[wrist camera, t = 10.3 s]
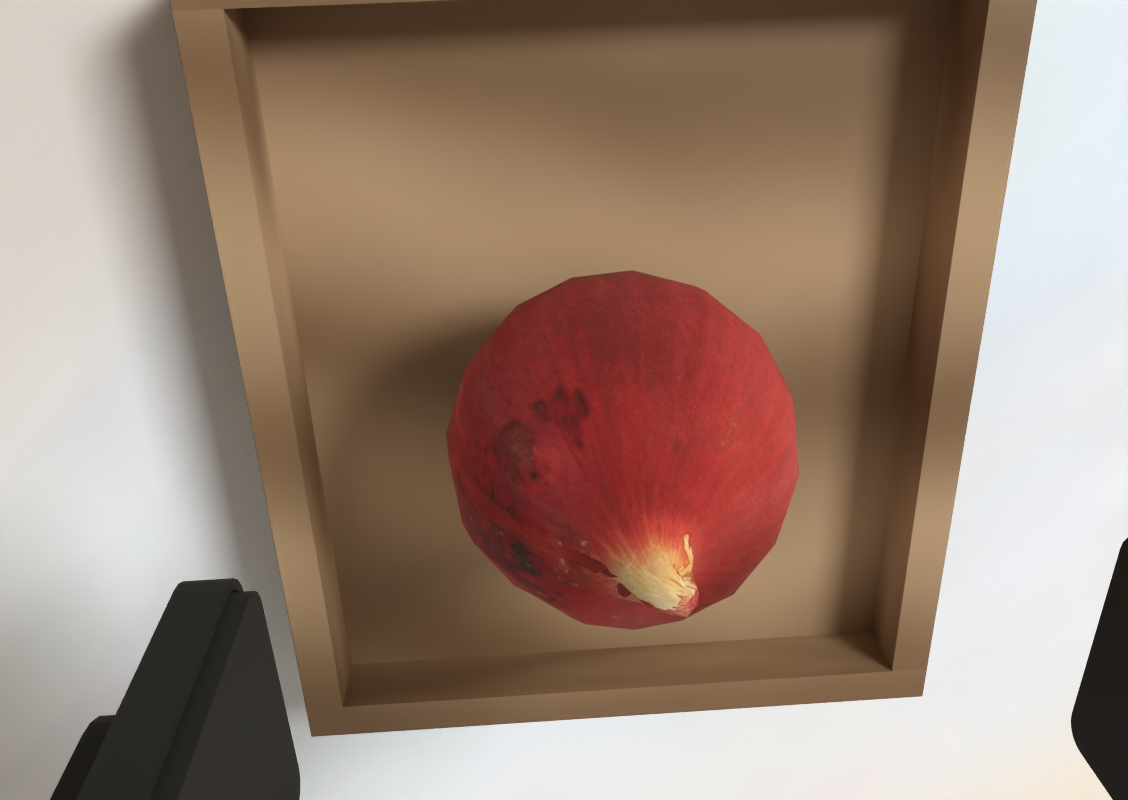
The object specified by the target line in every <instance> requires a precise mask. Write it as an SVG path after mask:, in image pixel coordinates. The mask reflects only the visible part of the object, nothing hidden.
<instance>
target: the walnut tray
mask: <svg viewBox="0 0 1128 800" xmlns="http://www.w3.org/2000/svg"><path fill="white" fill-rule="evenodd" d="M170 4H171V9H172V14H173V20H174V25H175V30H176V35H177V40H178V45H179V51H180V56H181V61H182V66H183V71H184V77H185V82H186V87H187V92H188V97H189V103H190V108H191V113H192V118H193V123H194V129H195V134H196V139H197V144H198V149H199V154H200V160H201V165H202V170H203V175H204V180H205V186H206V191H207V196H208V201H209V206H210V212H211V217H212V222H213V227H214V232H215V238H216V243H217V248H218V253H219V258H220V264H221V269H222V274H223V279H224V284H225V289H226V295H227V300H228V305H229V310H230V315H231V321H232V326H233V331H234V336H235V341H236V347H237V352H238V357H239V362H240V367H241V373H242V378H243V383H244V388H245V393H246V399H247V404H248V409H249V414H250V419H251V424H252V430H253V435H254V440H255V445H256V450H257V456H258V461H259V466H260V471H261V476H262V482H263V487H264V492H265V497H266V502H267V508H268V513H269V518H270V523H271V528H272V534H273V539H274V544H275V549H276V554H277V559H278V565H279V570H280V575H281V580H282V585H283V591H284V596H285V601H286V606H287V611H288V617H289V622H290V627H291V632H292V637H293V643H294V648H295V653H296V658H297V663H298V669H299V674H300V679H301V684H302V689H303V694H304V700H305V705H306V710H307V715H308V720H309V726H310V731H311V736H312V737H313V736H328V735H344V734H359V733H374V732H389V731H404V730H419V729H434V728H449V727H464V726H479V725H494V724H509V723H525V722H540V721H555V720H570V719H585V718H600V717H615V716H630V715H645V714H660V713H675V712H690V711H706V710H721V709H736V708H751V707H766V706H781V705H796V704H811V703H826V702H841V701H856V700H872V699H887V698H902V697H917V696H922V695H923V689H924V682H925V676H926V670H927V664H928V658H929V652H930V646H931V640H932V634H933V628H934V622H935V616H936V610H937V604H938V598H939V592H940V586H941V579H942V573H943V567H944V561H945V555H946V549H947V543H948V537H949V531H950V525H951V519H952V513H953V507H954V501H955V495H956V489H957V483H958V476H959V470H960V464H961V458H962V452H963V446H964V440H965V434H966V428H967V422H968V416H969V410H970V404H971V398H972V392H973V386H974V380H975V373H976V367H977V361H978V355H979V349H980V343H981V337H982V331H983V325H984V319H985V313H986V307H987V301H988V295H989V289H990V283H991V277H992V270H993V264H994V258H995V252H996V246H997V240H998V234H999V228H1000V222H1001V216H1002V210H1003V204H1004V198H1005V192H1006V186H1007V180H1008V174H1009V167H1010V161H1011V155H1012V149H1013V143H1014V137H1015V131H1016V125H1017V119H1018V113H1019V107H1020V101H1021V95H1022V89H1023V83H1024V77H1025V70H1026V64H1027V58H1028V52H1029V46H1030V40H1031V34H1032V28H1033V22H1034V16H1035V10H1036V4H1037V0H170ZM630 270H634V271H638V272H642V273H646V274H650V275H654V276H658V277H661V278H665V279H669V280H673V281H677V282H681V283H685V284H689V285H693V286H696V287H699V288H701V289H703V290H705V291H706V292H708V293H709V294H710V295H712V296H713V297H714V298H715V299H717V300H718V301H719V302H720V303H722V304H723V305H724V306H725V307H727V308H728V309H729V310H730V311H732V312H733V313H734V314H735V315H737V316H738V317H739V318H740V319H742V320H743V321H744V322H745V323H747V324H748V325H749V326H750V327H752V328H753V329H754V330H755V331H757V332H758V333H759V334H761V336H762V338H763V340H764V342H765V344H766V346H767V348H768V350H769V351H770V353H771V355H772V357H773V359H774V361H775V363H776V365H777V367H778V368H779V370H780V372H781V374H782V376H783V378H784V380H785V382H786V384H787V386H788V387H789V389H790V391H791V393H792V399H793V406H794V413H795V424H796V437H797V450H798V463H799V477H798V480H797V483H796V487H795V490H794V493H793V496H792V498H791V501H790V504H789V507H788V510H787V513H786V516H785V518H784V521H783V524H782V527H781V530H780V533H779V536H778V538H777V541H776V544H775V545H774V546H773V548H772V549H771V550H770V551H769V552H768V554H767V555H766V556H765V557H764V558H763V560H762V561H761V562H760V563H759V565H758V566H757V567H756V568H755V569H754V571H753V572H752V573H751V574H750V575H749V577H748V578H747V579H746V580H745V581H744V583H743V584H742V585H741V586H740V587H739V589H738V590H737V591H736V592H735V593H734V595H732V596H730V597H728V598H726V599H723V600H721V601H719V602H717V603H715V604H713V605H711V606H709V607H707V608H705V609H703V610H701V611H699V612H698V613H696V614H694V615H692V616H690V617H688V618H686V619H684V620H683V621H678V622H672V623H667V624H662V625H657V626H652V627H647V628H642V629H637V630H630V629H621V628H612V627H604V626H595V625H587V624H584V623H581V622H579V621H576V620H574V619H573V618H571V617H569V616H568V615H566V614H564V613H562V612H561V611H559V610H557V609H556V608H554V607H552V606H550V605H549V604H547V603H545V602H544V601H542V600H540V599H538V598H537V597H535V596H533V595H532V594H530V593H528V592H526V591H524V590H522V589H520V588H518V587H516V586H514V585H513V584H512V583H511V582H510V581H509V580H508V579H507V577H506V576H505V575H504V574H503V573H502V572H501V571H500V570H499V569H498V568H497V567H496V566H495V565H494V564H493V563H492V562H491V561H490V560H489V559H488V558H487V556H486V555H485V554H484V553H483V552H482V551H481V550H480V549H479V548H478V547H477V546H476V545H475V544H474V543H473V541H472V539H471V538H470V536H469V534H468V532H467V531H466V529H465V527H464V525H463V523H462V519H461V515H460V510H459V505H458V500H457V496H456V491H455V486H454V481H453V476H452V472H451V467H450V462H449V456H448V448H447V440H446V432H447V429H448V425H449V422H450V419H451V415H452V412H453V409H454V405H455V402H456V399H457V395H458V392H459V389H460V385H461V382H462V378H463V375H464V372H465V369H466V367H467V366H468V364H469V363H470V361H471V359H472V358H473V356H474V354H475V353H476V352H477V350H478V349H479V348H480V347H481V346H482V345H483V344H484V342H485V341H486V340H487V339H488V338H489V337H490V336H491V335H492V333H493V332H494V331H495V330H496V329H497V328H498V327H499V325H500V324H501V323H502V322H503V321H504V320H505V319H506V317H507V316H508V315H509V314H510V313H511V312H512V311H513V309H514V308H515V307H516V306H517V305H519V304H521V303H523V302H525V301H527V300H529V299H531V298H533V297H534V296H536V295H538V294H540V293H542V292H544V291H546V290H548V289H550V288H552V287H554V286H556V285H558V284H560V283H562V282H564V281H566V280H568V279H570V278H572V277H581V276H589V275H597V274H605V273H614V272H622V271H630Z"/></svg>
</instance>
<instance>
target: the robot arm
mask: <svg viewBox="0 0 1128 800" xmlns="http://www.w3.org/2000/svg"><path fill="white" fill-rule="evenodd" d="M1071 728H1072V733H1073V737H1074V740H1075V743H1076V745H1077V747H1078V749H1079V751H1080V752H1081V754H1082V755H1083V757H1084V758H1085V760H1086V761H1087V763H1088V764H1089V766H1090V767H1091V768H1092V770H1093V771H1094V773H1095V774H1096V776H1097V777H1098V779H1099V780H1100V782H1101V783H1102V785H1103V786H1104V787H1105V789H1106V790H1107V792H1108V793H1109V795H1110V796H1111V798H1112V799H1113V800H1128V538H1127V539H1126V540H1125V541H1124V542H1123V544H1122V546H1121V548H1120V552H1119V555H1118V558H1117V562H1116V565H1115V569H1114V572H1113V575H1112V579H1111V582H1110V586H1109V589H1108V592H1107V596H1106V599H1105V603H1104V606H1103V610H1102V613H1101V616H1100V620H1099V623H1098V627H1097V630H1096V633H1095V637H1094V640H1093V644H1092V647H1091V650H1090V654H1089V657H1088V661H1087V664H1086V668H1085V671H1084V674H1083V678H1082V681H1081V685H1080V688H1079V691H1078V695H1077V698H1076V702H1075V705H1074V708H1073V712H1072V717H1071ZM299 797H300V773H299V767H298V762H297V758H296V753H295V749H294V744H293V740H292V736H291V731H290V727H289V722H288V718H287V713H286V709H285V704H284V700H283V695H282V691H281V686H280V682H279V677H278V673H277V668H276V664H275V660H274V655H273V651H272V646H271V642H270V637H269V633H268V628H267V624H266V619H265V615H264V610H263V606H262V602H261V598H260V596H259V594H258V592H256V591H247V592H243V589H242V586H241V584H240V582H239V581H238V580H237V579H234V578H232V579H216V580H200V581H183V582H181V583H179V584H178V585H177V587H176V588H175V590H174V592H173V594H172V596H171V598H170V600H169V602H168V604H167V607H166V609H165V611H164V613H163V615H162V617H161V619H160V621H159V624H158V626H157V628H156V630H155V632H154V634H153V636H152V638H151V641H150V643H149V645H148V647H147V649H146V651H145V653H144V656H143V658H142V660H141V662H140V664H139V666H138V668H137V670H136V673H135V675H134V677H133V679H132V681H131V683H130V685H129V687H128V690H127V692H126V694H125V696H124V698H123V700H122V702H121V704H120V707H119V709H118V711H117V713H116V715H109V716H99V717H97V718H96V719H95V720H94V721H92V722H91V723H90V724H89V726H88V727H87V729H86V730H85V732H84V733H83V735H82V737H81V739H80V741H79V743H78V745H77V747H76V749H75V751H74V753H73V755H72V757H71V759H70V761H69V763H68V765H67V767H66V769H65V771H64V773H63V775H62V777H61V779H60V781H59V783H58V785H57V787H56V789H55V791H54V793H53V795H52V797H51V799H50V800H299Z"/></svg>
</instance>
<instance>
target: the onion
mask: <svg viewBox="0 0 1128 800" xmlns="http://www.w3.org/2000/svg"><path fill="white" fill-rule="evenodd" d="M446 440H447V448H448V456H449V462H450V467H451V472H452V476H453V481H454V486H455V491H456V496H457V500H458V505H459V510H460V515H461V519H462V523H463V525H464V527H465V529H466V531H467V532H468V534H469V536H470V538H471V539H472V541H473V543H474V544H475V545H476V546H477V547H478V548H479V549H480V550H481V551H482V552H483V553H484V554H485V555H486V556H487V558H488V559H489V560H490V561H491V562H492V563H493V564H494V565H495V566H496V567H497V568H498V569H499V570H500V571H501V572H502V573H503V574H504V575H505V576H506V577H507V579H508V580H509V581H510V582H511V583H512V584H513V585H514V586H516V587H518V588H520V589H522V590H524V591H526V592H528V593H530V594H532V595H533V596H535V597H537V598H538V599H540V600H542V601H544V602H545V603H547V604H549V605H550V606H552V607H554V608H556V609H557V610H559V611H561V612H562V613H564V614H566V615H568V616H569V617H571V618H573V619H574V620H576V621H579V622H581V623H584V624H587V625H595V626H604V627H612V628H621V629H630V630H637V629H642V628H647V627H652V626H657V625H662V624H667V623H672V622H678V621H683V620H684V619H686V618H688V617H690V616H692V615H694V614H696V613H698V612H699V611H701V610H703V609H705V608H707V607H709V606H711V605H713V604H715V603H717V602H719V601H721V600H723V599H726V598H728V597H730V596H732V595H734V593H735V592H736V591H737V590H738V589H739V587H740V586H741V585H742V584H743V583H744V581H745V580H746V579H747V578H748V577H749V575H750V574H751V573H752V572H753V571H754V569H755V568H756V567H757V566H758V565H759V563H760V562H761V561H762V560H763V558H764V557H765V556H766V555H767V554H768V552H769V551H770V550H771V549H772V548H773V546H774V545H775V544H776V541H777V538H778V536H779V533H780V530H781V527H782V524H783V521H784V518H785V516H786V513H787V510H788V507H789V504H790V501H791V498H792V496H793V493H794V490H795V487H796V483H797V480H798V477H799V463H798V450H797V437H796V424H795V413H794V406H793V399H792V393H791V391H790V389H789V387H788V386H787V384H786V382H785V380H784V378H783V376H782V374H781V372H780V370H779V368H778V367H777V365H776V363H775V361H774V359H773V357H772V355H771V353H770V351H769V350H768V348H767V346H766V344H765V342H764V340H763V338H762V336H761V334H759V333H758V332H757V331H755V330H754V329H753V328H752V327H750V326H749V325H748V324H747V323H745V322H744V321H743V320H742V319H740V318H739V317H738V316H737V315H735V314H734V313H733V312H732V311H730V310H729V309H728V308H727V307H725V306H724V305H723V304H722V303H720V302H719V301H718V300H717V299H715V298H714V297H713V296H712V295H710V294H709V293H708V292H706V291H705V290H703V289H701V288H699V287H696V286H693V285H689V284H685V283H681V282H677V281H673V280H669V279H665V278H661V277H658V276H654V275H650V274H646V273H642V272H638V271H634V270H630V271H622V272H614V273H605V274H597V275H589V276H581V277H572V278H570V279H568V280H566V281H564V282H562V283H560V284H558V285H556V286H554V287H552V288H550V289H548V290H546V291H544V292H542V293H540V294H538V295H536V296H534V297H533V298H531V299H529V300H527V301H525V302H523V303H521V304H519V305H517V306H516V307H515V308H514V309H513V311H512V312H511V313H510V314H509V315H508V316H507V317H506V319H505V320H504V321H503V322H502V323H501V324H500V325H499V327H498V328H497V329H496V330H495V331H494V332H493V333H492V335H491V336H490V337H489V338H488V339H487V340H486V341H485V342H484V344H483V345H482V346H481V347H480V348H479V349H478V350H477V352H476V353H475V354H474V356H473V358H472V359H471V361H470V363H469V364H468V366H467V367H466V369H465V372H464V375H463V378H462V382H461V385H460V389H459V392H458V395H457V399H456V402H455V405H454V409H453V412H452V415H451V419H450V422H449V425H448V429H447V432H446Z"/></svg>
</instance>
